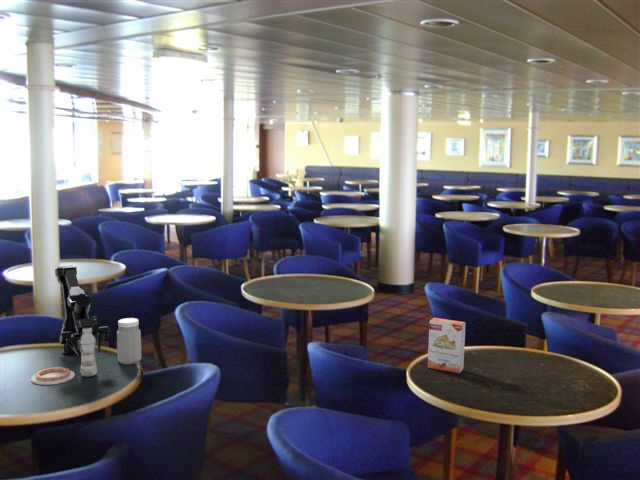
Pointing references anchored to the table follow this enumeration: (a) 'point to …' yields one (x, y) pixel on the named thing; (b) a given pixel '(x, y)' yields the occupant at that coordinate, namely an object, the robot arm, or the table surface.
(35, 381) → the white orange plate
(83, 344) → the plastic bottle
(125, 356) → the jar
